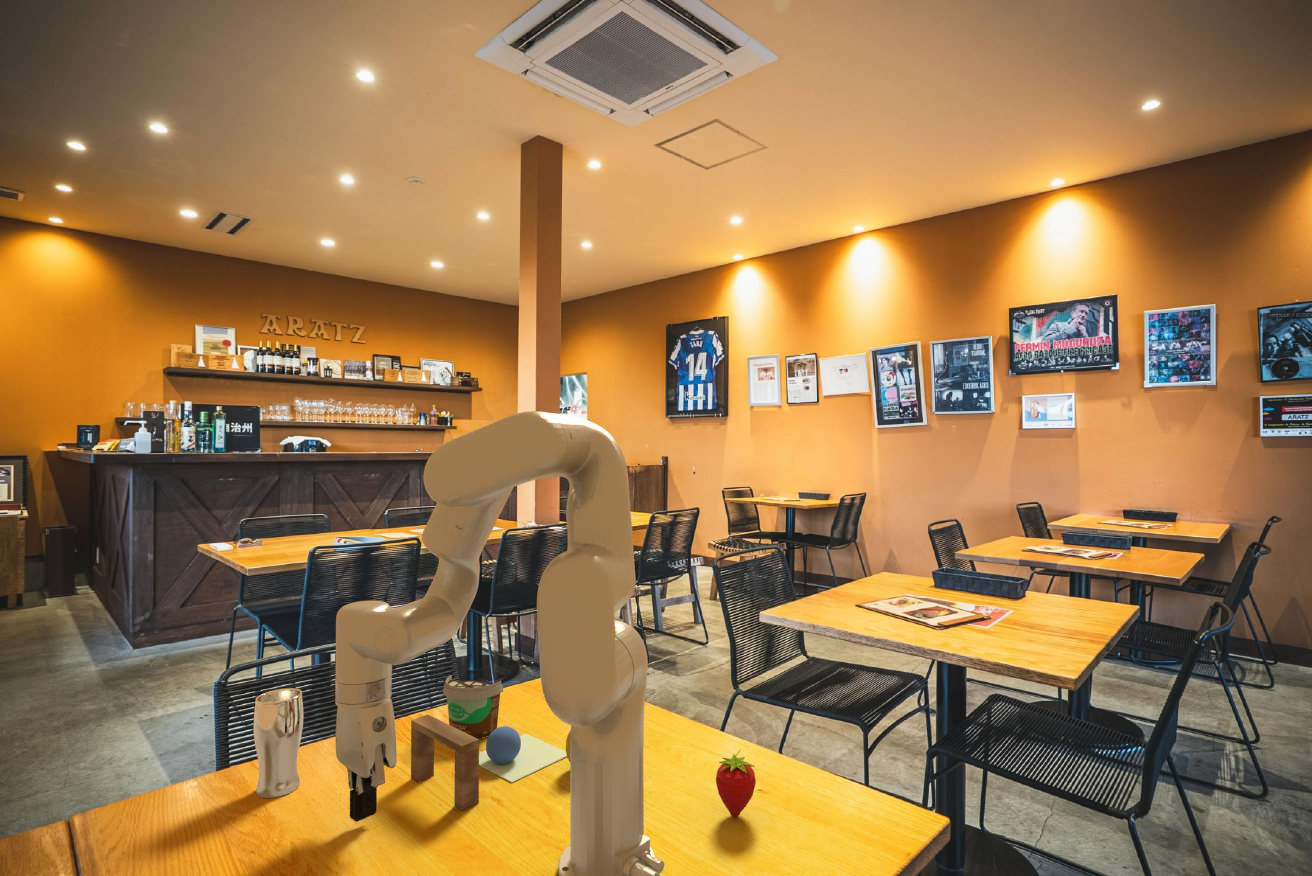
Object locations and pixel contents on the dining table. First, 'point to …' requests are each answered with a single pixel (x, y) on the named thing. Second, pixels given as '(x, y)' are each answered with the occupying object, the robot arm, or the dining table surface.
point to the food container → (473, 706)
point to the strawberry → (735, 783)
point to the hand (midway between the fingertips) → (363, 815)
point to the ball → (503, 745)
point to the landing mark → (524, 759)
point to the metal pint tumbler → (278, 741)
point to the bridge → (465, 757)
